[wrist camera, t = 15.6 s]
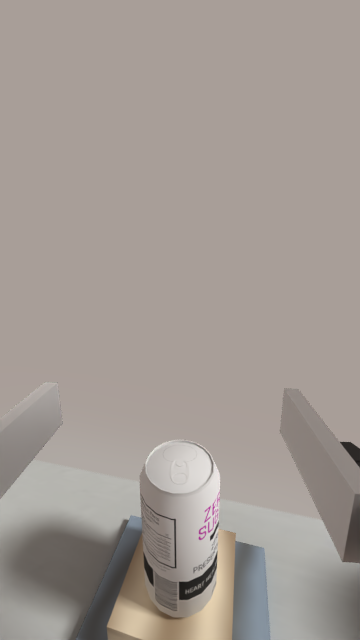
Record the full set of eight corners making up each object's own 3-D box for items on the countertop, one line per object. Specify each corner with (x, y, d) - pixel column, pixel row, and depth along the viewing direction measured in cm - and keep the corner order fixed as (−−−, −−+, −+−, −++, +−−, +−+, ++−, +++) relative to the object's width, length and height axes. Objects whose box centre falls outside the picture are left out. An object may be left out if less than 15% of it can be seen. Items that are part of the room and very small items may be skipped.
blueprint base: (263, 554, 36) (266, 525, 35) (277, 770, 21) (282, 731, 19) (131, 521, 40) (129, 494, 39) (63, 677, 25) (57, 641, 24)
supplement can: (148, 536, 33) (144, 436, 30) (212, 536, 33) (215, 436, 30) (139, 622, 25) (131, 500, 22) (222, 622, 25) (227, 499, 22)
